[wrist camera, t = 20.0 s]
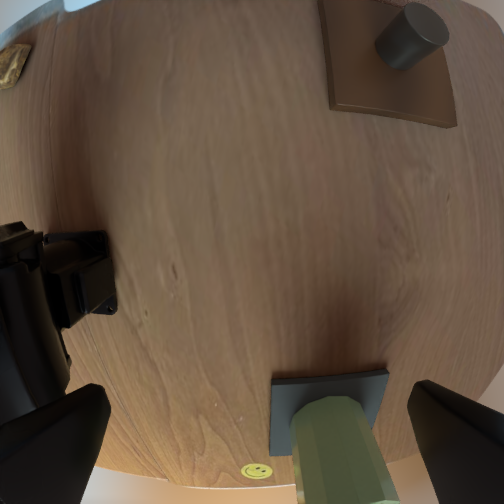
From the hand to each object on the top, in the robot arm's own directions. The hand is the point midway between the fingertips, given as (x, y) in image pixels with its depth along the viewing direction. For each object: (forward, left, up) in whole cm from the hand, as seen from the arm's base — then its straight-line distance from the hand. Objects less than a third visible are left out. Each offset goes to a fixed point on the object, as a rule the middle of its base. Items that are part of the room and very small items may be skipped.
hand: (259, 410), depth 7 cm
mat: (+6, -14, -13) cm, 20 cm away
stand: (+10, +16, -13) cm, 23 cm away
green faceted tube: (+6, -14, -12) cm, 20 cm away
